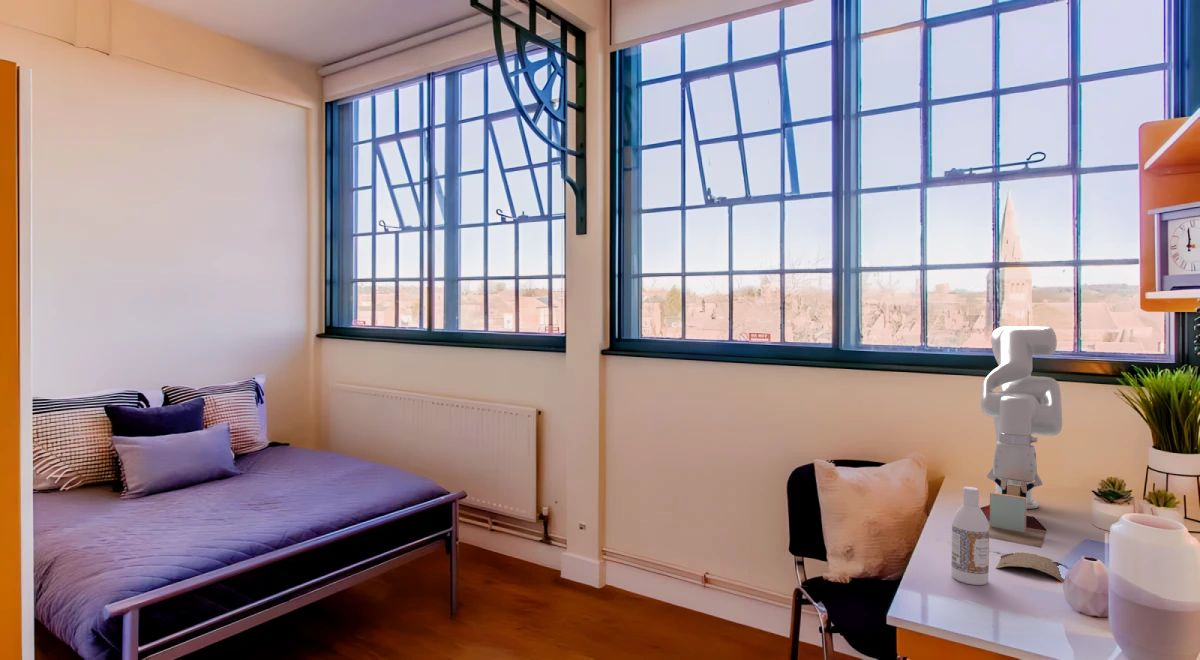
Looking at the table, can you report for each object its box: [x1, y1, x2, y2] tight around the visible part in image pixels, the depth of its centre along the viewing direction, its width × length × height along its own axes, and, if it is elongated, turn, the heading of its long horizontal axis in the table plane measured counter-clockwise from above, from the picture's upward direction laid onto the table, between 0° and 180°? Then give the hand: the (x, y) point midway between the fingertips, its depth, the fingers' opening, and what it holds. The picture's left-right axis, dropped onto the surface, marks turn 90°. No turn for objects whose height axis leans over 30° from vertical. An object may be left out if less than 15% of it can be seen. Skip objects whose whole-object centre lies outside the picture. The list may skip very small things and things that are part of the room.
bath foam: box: [950, 486, 990, 586], centre depth 136 cm, size 7×7×20 cm
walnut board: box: [987, 520, 1047, 549], centre depth 162 cm, size 16×14×2 cm
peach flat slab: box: [989, 492, 1027, 533], centre depth 165 cm, size 2×8×9 cm, turn 51°
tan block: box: [1007, 484, 1022, 497], centre depth 175 cm, size 12×5×5 cm, turn 141°
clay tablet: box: [995, 552, 1065, 583], centre depth 142 cm, size 14×10×3 cm
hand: (1013, 503), depth 177 cm, fingers closed on tan block, 3 cm apart
